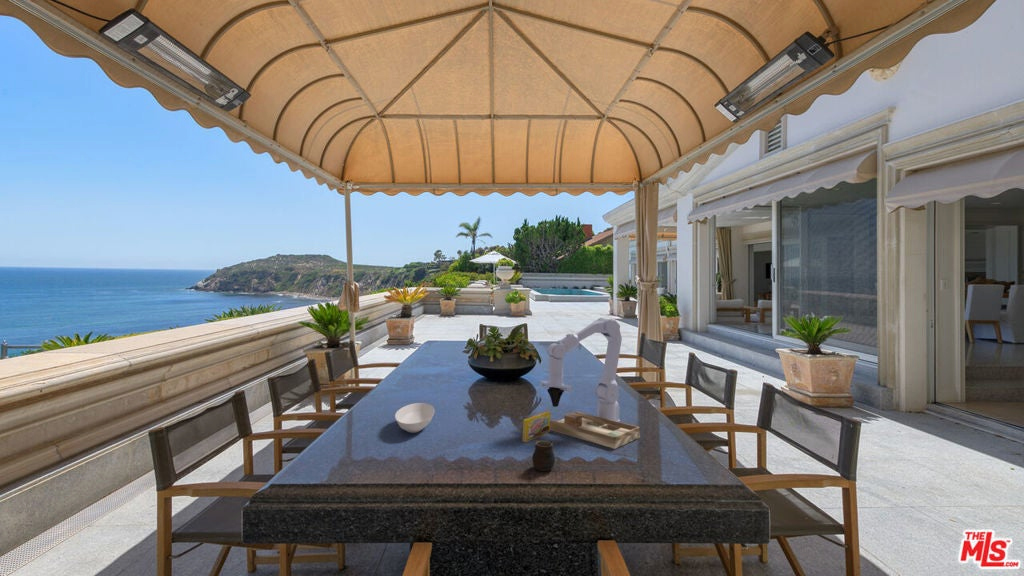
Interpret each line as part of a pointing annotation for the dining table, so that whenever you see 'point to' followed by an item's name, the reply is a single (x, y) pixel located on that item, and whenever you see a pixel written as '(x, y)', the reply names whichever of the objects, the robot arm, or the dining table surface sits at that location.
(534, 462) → the mate gourd
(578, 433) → the box
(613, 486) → the dining table surface
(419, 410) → the bowl
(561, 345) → the robot arm
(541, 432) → the candy box
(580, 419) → the block
